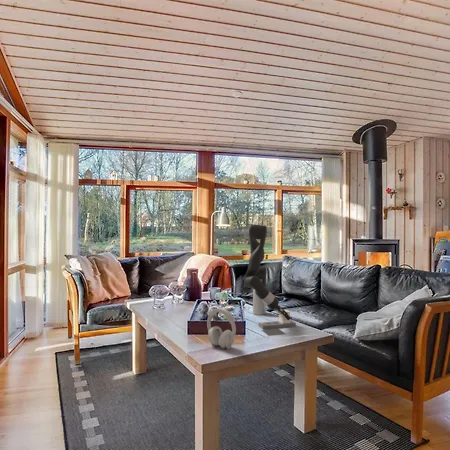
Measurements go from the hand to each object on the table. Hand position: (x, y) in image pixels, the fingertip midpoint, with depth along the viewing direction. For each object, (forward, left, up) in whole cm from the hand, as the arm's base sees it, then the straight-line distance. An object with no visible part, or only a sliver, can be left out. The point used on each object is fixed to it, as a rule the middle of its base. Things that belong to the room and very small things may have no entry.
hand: (286, 317), depth 226 cm
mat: (+10, -14, -5) cm, 18 cm away
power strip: (0, -7, -5) cm, 9 cm away
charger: (0, -2, -5) cm, 5 cm away
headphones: (+24, -50, -6) cm, 55 cm away
